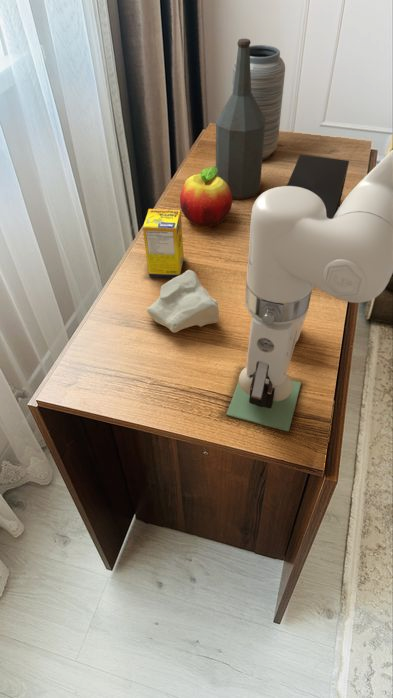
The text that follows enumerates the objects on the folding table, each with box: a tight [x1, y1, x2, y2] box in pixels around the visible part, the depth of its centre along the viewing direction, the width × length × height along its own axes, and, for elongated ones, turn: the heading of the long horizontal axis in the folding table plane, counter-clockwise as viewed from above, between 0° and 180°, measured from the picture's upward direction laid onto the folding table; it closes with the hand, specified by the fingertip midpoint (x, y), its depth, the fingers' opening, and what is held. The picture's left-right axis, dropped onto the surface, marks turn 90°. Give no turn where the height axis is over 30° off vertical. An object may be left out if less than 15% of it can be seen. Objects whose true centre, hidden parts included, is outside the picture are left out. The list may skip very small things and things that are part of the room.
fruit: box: [179, 165, 233, 228], centre depth 102 cm, size 11×11×10 cm
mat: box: [226, 379, 302, 432], centre depth 73 cm, size 9×9×1 cm
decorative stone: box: [146, 269, 220, 333], centre depth 83 cm, size 11×9×10 cm
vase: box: [231, 44, 286, 161], centre depth 117 cm, size 12×12×23 cm
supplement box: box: [142, 208, 185, 278], centre depth 90 cm, size 6×6×11 cm
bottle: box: [215, 38, 265, 200], centre depth 103 cm, size 10×10×30 cm
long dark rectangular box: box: [286, 153, 350, 219], centre depth 97 cm, size 10×26×10 cm, turn 161°
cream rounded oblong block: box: [238, 367, 293, 401], centre depth 70 cm, size 8×4×4 cm, turn 71°
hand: (265, 389), depth 71 cm, fingers closed on cream rounded oblong block, 4 cm apart
